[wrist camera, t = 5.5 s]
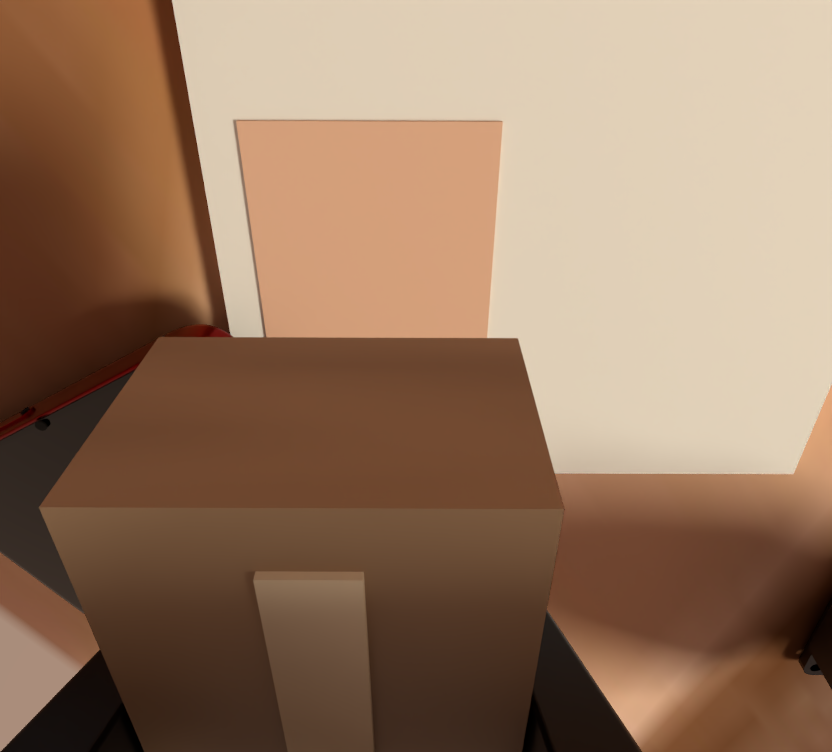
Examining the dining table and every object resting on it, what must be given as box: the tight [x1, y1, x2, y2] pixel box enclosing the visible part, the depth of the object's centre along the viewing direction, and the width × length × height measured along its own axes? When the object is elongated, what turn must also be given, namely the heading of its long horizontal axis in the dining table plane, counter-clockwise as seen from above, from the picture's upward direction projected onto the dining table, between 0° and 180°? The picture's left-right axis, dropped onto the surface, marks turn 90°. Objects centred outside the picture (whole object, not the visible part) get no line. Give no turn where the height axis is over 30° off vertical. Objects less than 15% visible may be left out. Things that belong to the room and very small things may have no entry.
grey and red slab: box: [0, 324, 233, 614], centre depth 24 cm, size 12×2×25 cm
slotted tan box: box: [39, 337, 564, 752], centre depth 9 cm, size 8×4×3 cm, turn 0°
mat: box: [172, 0, 832, 474], centre depth 17 cm, size 17×14×1 cm
